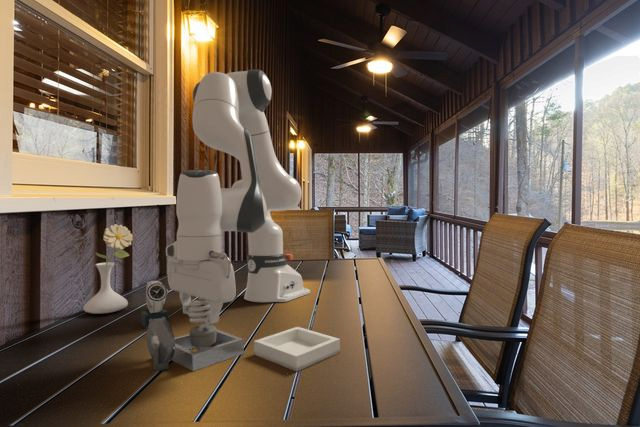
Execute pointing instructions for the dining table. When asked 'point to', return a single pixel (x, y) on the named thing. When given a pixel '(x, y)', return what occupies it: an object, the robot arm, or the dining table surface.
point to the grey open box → (178, 351)
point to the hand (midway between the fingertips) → (200, 317)
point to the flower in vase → (106, 296)
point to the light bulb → (205, 332)
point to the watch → (154, 303)
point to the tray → (296, 348)
